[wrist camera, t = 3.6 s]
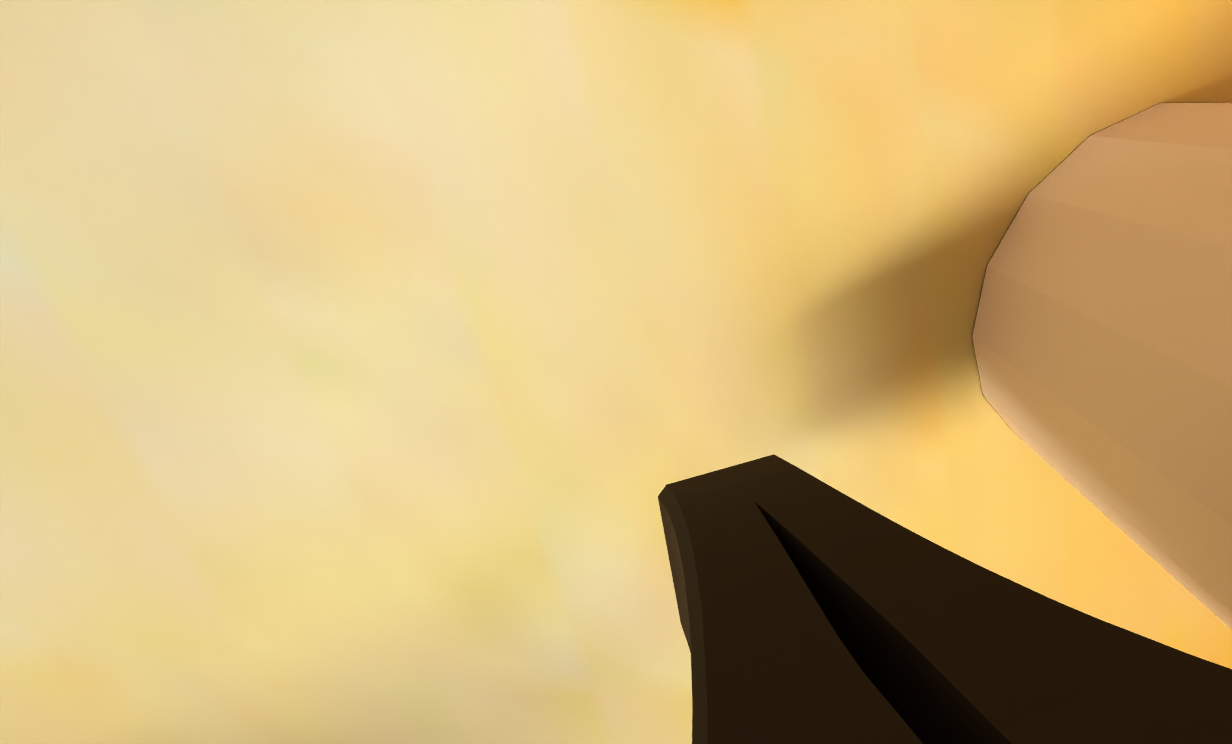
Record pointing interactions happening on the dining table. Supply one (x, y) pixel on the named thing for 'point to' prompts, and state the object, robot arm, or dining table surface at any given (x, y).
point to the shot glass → (1128, 334)
